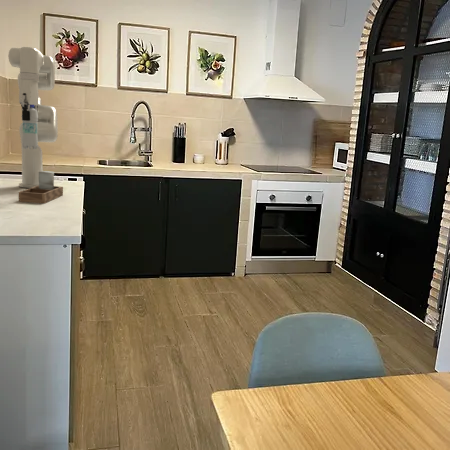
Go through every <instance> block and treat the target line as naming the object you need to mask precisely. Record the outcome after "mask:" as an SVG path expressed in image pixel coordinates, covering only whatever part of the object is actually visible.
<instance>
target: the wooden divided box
mask: <svg viewBox="0 0 450 450" xmlns="http://www.w3.org/2000/svg"><path fill="white" fill-rule="evenodd" d="M63 196H64V187H63V186H58V185H57V186H56V185H55V171H49V170H43V171H39V185H38V186H35V187H32V188H25V189H23V190H21V191H18V202H19V203H32V204H33V203H35V204H47V203H49V202H51V201H54V200H55V199H58V198H60V197H63Z"/></svg>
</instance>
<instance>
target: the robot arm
mask: <svg viewBox="0 0 450 450" xmlns="http://www.w3.org/2000/svg"><path fill="white" fill-rule="evenodd" d="M8 62H9V64H10V65H11V67H13V68H16V69H17V68H18V69H19V73H18V75H17V86H18V103H19V104H20V106H21V116H22V117H21V121H22V120H24V121H30V111H29V108H30V105H34V109H36V110H37V114H38V122H37V138H38V143H55V142H56V141H57V139H58V136H59V135H58V133H59V128H58V124H59V123H58V111H57V110H56V108H55V107H54V106H51V105H45V104H44V105H43V104H42V99H41V97H40V96H39V95H40V93H39V91H52V90H54V88H55V84H56V81H55V80H56V77H55V74H56V73H55V72H56V71H55V70H56V68H55V67H56V66H55V62H54V59H53V58H52V56H50V55H47V54H46V55H44V54H43V53H42V52H41V51H40V50H38V49H37V48H35V47H31V46H21V47H11V48H9V50H8ZM32 108H33V107H32ZM18 127H19V137H20V143H21V182H20V183H18V187H20V188H23V189H29V188H32V187H35V186H38V185H39V171H44V169H43V167H44V166H43V165H44V164H43V149H42V148H41V146H39V144H38V147H37V149H33V147H31V149H29V147H28V148H27V149H25V148H23V145H22V139H23V122H22V123H20V125H19V126H18Z"/></svg>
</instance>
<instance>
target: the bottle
mask: <svg viewBox="0 0 450 450" xmlns="http://www.w3.org/2000/svg"><path fill="white" fill-rule="evenodd" d="M32 107H33V108H32ZM29 111H30V121H24V120H22V119H21V121H22V123H23V139H22V145H23V148H25V149H27V148H28V147H29V149H31V147H33V149H37V147H38V145H39V142H38V138H37V122H38V114H37V110H36V109H34V105H30V108H29ZM21 118H22V115H21Z"/></svg>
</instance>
